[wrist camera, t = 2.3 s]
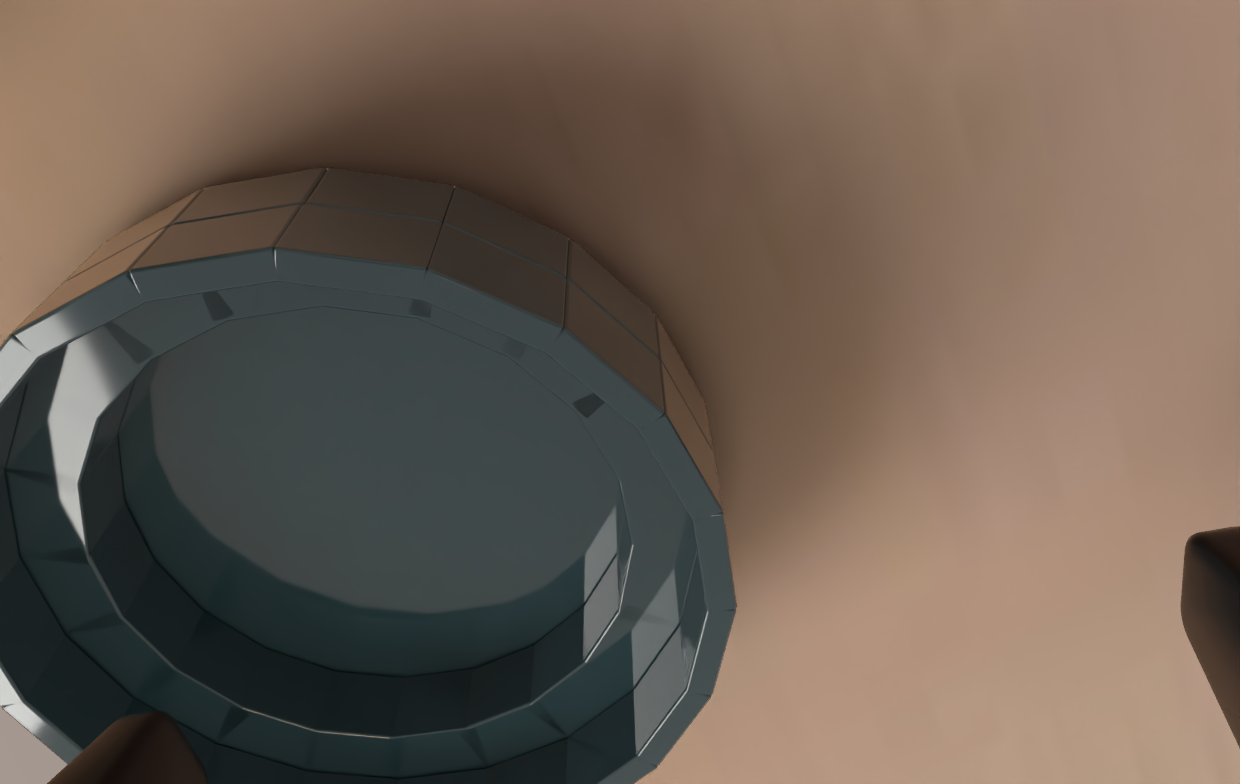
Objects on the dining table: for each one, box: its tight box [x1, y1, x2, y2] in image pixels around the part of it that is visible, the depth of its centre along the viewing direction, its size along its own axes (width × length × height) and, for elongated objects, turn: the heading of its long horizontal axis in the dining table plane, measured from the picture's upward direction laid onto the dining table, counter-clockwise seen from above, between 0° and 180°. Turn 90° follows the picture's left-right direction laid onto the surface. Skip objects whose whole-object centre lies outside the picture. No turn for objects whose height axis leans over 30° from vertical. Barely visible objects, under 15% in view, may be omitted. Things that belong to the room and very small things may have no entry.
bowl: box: [0, 168, 737, 784], centre depth 22 cm, size 15×15×4 cm
